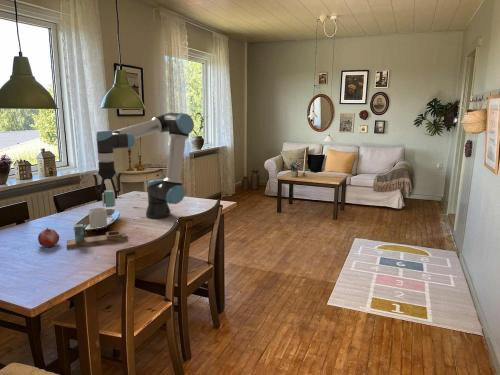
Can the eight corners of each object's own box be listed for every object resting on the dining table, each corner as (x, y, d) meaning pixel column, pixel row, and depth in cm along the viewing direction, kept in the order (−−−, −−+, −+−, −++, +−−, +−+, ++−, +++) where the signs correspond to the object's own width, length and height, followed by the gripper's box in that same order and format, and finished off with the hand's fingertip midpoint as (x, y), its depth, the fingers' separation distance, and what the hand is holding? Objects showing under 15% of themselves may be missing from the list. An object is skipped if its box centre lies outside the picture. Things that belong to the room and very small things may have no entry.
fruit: (43, 242, 187) (41, 223, 185) (63, 242, 188) (61, 223, 186) (34, 249, 178) (32, 229, 176) (54, 248, 179) (52, 229, 177)
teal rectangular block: (113, 204, 195) (112, 190, 193) (114, 206, 191) (113, 191, 189) (104, 205, 193) (103, 190, 191) (104, 207, 189) (103, 192, 188)
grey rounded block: (101, 232, 203) (99, 212, 200) (87, 230, 205) (85, 211, 202) (113, 225, 214) (112, 206, 212) (99, 224, 216) (98, 205, 214)
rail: (125, 235, 197) (124, 218, 195) (127, 240, 191) (125, 221, 188) (67, 244, 185) (65, 225, 183) (67, 248, 179) (64, 229, 177)
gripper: (123, 159, 194) (126, 202, 199) (87, 160, 187) (90, 205, 192) (125, 161, 187) (127, 205, 192) (87, 162, 180) (90, 208, 185)
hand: (109, 205), depth 192 cm, fingers closed on teal rectangular block, 5 cm apart
